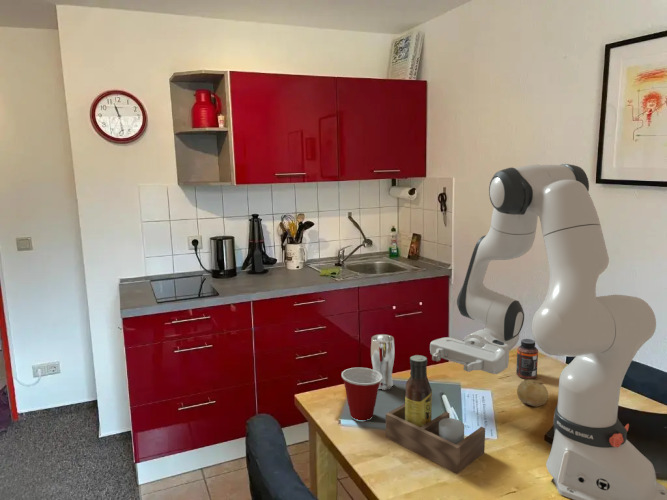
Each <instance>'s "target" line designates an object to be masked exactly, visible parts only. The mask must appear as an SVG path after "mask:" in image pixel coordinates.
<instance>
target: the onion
mask: <svg viewBox="0 0 667 500" xmlns="http://www.w3.org/2000/svg"><path fill="white" fill-rule="evenodd" d="M541 379H542V378H541V377H539V379H538V380H536V379H524V380H523V381H521V382H520V383H519V384H518V385H517V389H516V394H517V397H518V399H519V400H520V401H521V402H522V404H524V405H526V406H527V405H529V406H532V407H541V406H544V405H545V403H547V401H548V399H549V392H548V391H549V390H548V389H547V387H546V386H545V385H544V381H542V380H541Z"/></svg>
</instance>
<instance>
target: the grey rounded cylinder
mask: <svg viewBox="0 0 667 500" xmlns="http://www.w3.org/2000/svg"><path fill="white" fill-rule="evenodd" d="M439 437H442V438H444V439H446V440H448V441H450V442H452V443H454V444H458V443H459V442H460V441H462V440H463V439H465V424H464V422H463V421H461V420H460V419H456V418H450V417H449V418H446V419H442V420H441V421H440V422H439Z"/></svg>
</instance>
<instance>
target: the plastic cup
mask: <svg viewBox="0 0 667 500" xmlns="http://www.w3.org/2000/svg"><path fill="white" fill-rule="evenodd" d="M341 378H342V381H343V385H344V388H345V389H344V390H345V394H346V400H347V406H348V408H349V414H350V417H351V416H352V417H353V418H355V419H358V420H367V419H370V418H371V417H372V416H374V412H375V407H376V401H377V397H378V396H377V395H378V391H379V390H378V388H379V385H380V382H381V380H382V379H383V377H382V374H380V373H379V372H378V371H375V370H373V368H372V369H371V368H368V367H351V368H347V369H344V370H343V371H341ZM372 418H373V417H372Z"/></svg>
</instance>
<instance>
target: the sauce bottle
mask: <svg viewBox="0 0 667 500" xmlns="http://www.w3.org/2000/svg"><path fill="white" fill-rule="evenodd" d="M409 364H410V372H409V374H410V376H409V378H408V380H407V382H406V383H405V397H404V400H405V401H404V402H405V403H404V404H405V421H407V422H410V423H412V424H414V425H416V426H418V427H422V426H424V425H425V424H427V423H428V422H430V421H432V407H433V403H432V401H433V398H432V395H433V389H432V387H431V385H430V381H429V379H428V376H427V375H428V374H427V373H428V372H427V365H428V358H427V356H424V355H421V354H420V355H419V354H415V355H412V356H410V357H409Z"/></svg>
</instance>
